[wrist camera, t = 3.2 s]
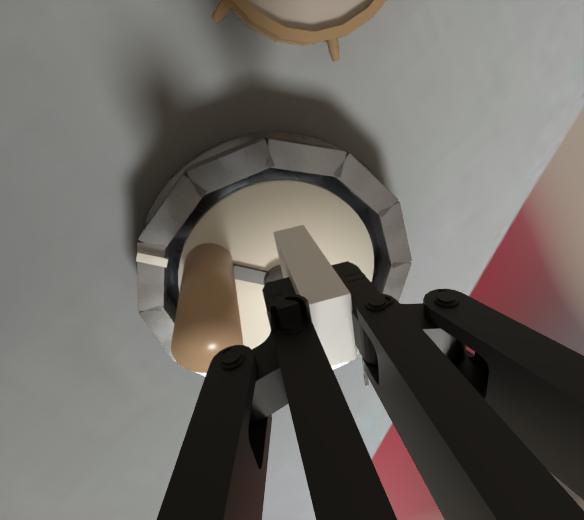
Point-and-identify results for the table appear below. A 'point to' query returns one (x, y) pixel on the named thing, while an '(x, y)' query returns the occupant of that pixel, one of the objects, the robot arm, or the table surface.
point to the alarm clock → (302, 19)
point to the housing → (245, 170)
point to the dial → (253, 262)
